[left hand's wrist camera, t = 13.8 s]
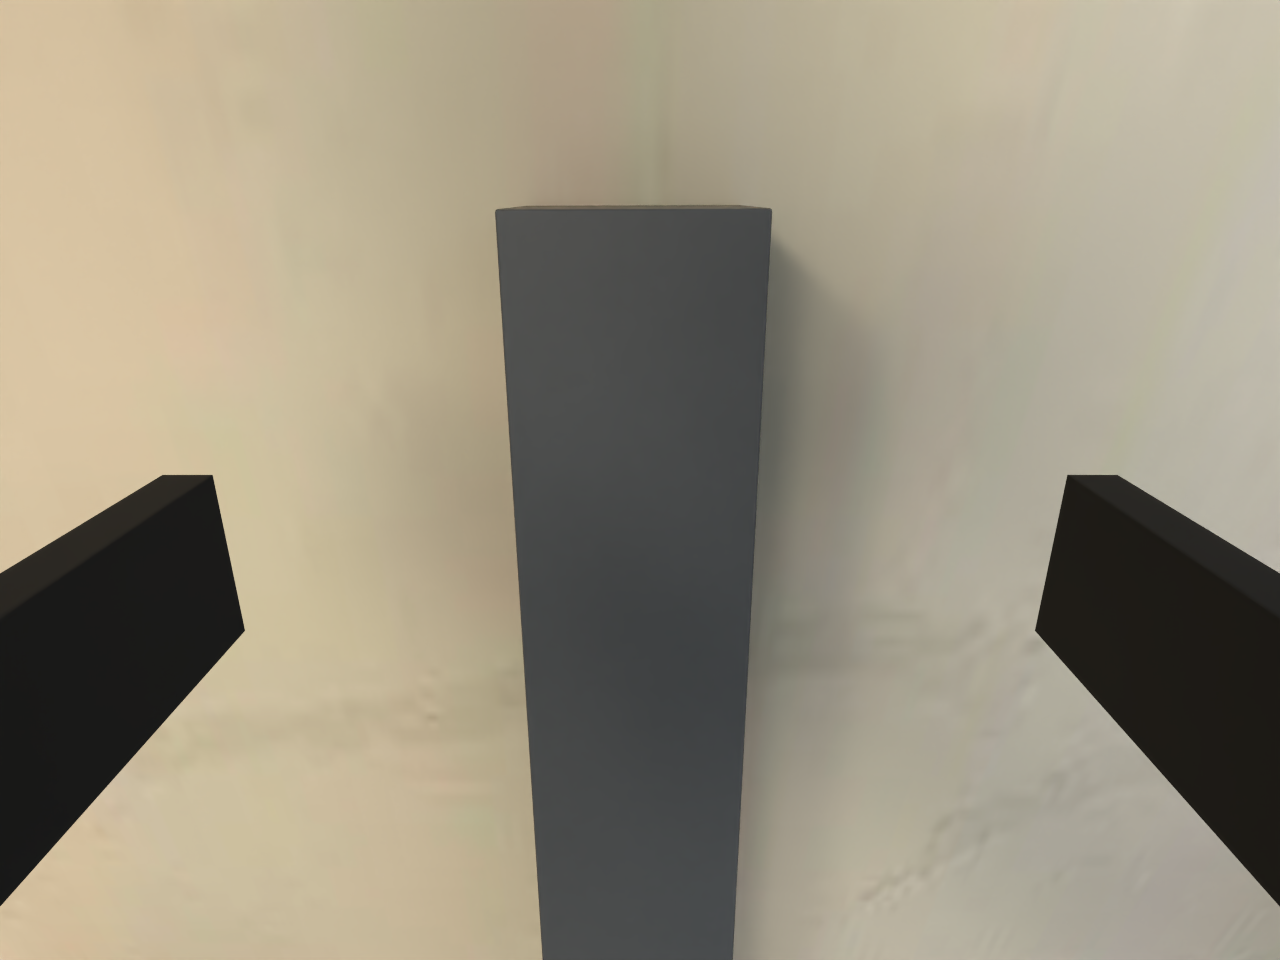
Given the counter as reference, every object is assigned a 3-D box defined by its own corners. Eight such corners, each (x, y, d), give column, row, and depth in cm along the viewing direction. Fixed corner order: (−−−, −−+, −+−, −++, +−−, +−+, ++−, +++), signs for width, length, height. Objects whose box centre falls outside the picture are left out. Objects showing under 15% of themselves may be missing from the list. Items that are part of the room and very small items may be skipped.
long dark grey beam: (525, 206, 32) (494, 209, 25) (741, 205, 32) (772, 208, 25) (569, 1082, 51) (559, 1226, 44) (706, 1081, 51) (718, 1224, 44)
